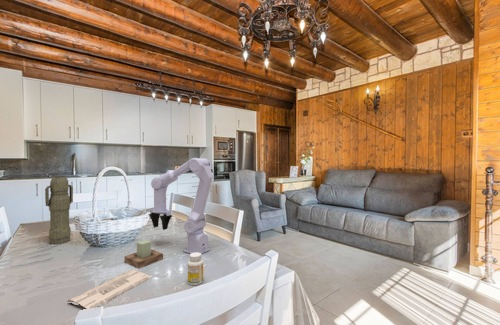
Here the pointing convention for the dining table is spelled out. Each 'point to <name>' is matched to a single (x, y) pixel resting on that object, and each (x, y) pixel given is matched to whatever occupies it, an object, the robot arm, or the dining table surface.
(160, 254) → the socket block
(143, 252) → the peg
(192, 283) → the supplement bottle
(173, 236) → the dining table surface
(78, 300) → the newspaper
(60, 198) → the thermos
